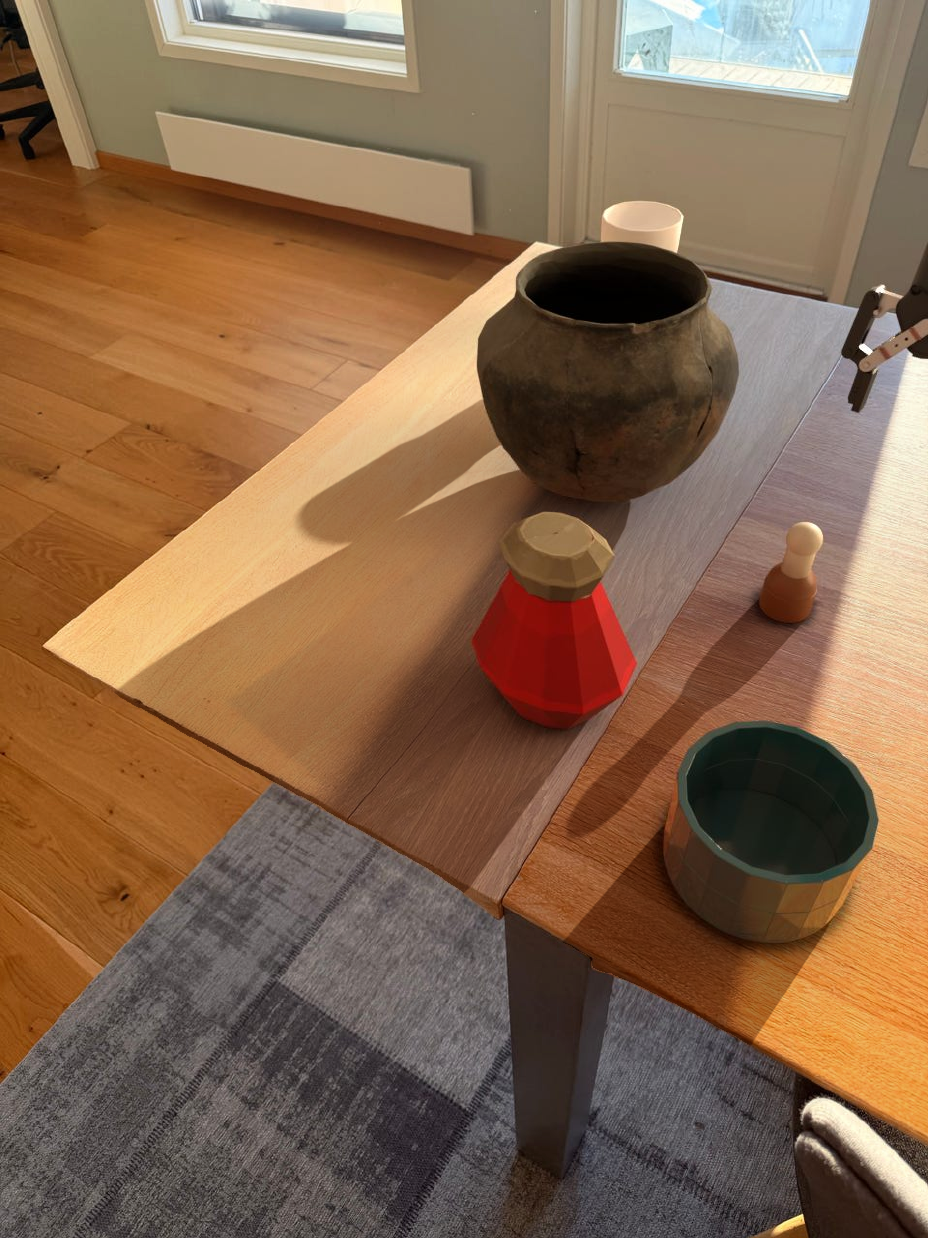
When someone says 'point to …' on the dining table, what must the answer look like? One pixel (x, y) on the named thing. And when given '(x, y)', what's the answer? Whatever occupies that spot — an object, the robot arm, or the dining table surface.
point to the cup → (643, 224)
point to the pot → (607, 369)
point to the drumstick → (793, 577)
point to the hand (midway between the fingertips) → (905, 424)
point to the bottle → (554, 624)
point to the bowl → (767, 830)
